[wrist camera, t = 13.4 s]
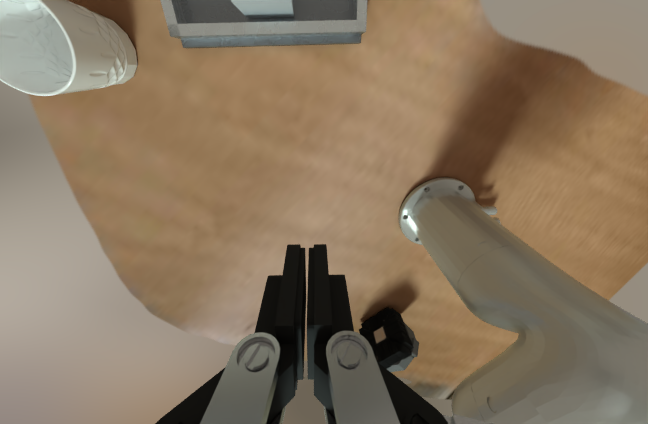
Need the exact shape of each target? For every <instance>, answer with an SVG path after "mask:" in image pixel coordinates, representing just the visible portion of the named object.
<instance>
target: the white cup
mask: <svg viewBox="0 0 648 424" xmlns="http://www.w3.org/2000/svg"><path fill="white" fill-rule="evenodd" d="M137 65H138V64H137V57H136V50H135V48H134V46H133V44H132V42H131V40H130V39H129V37H128V35H127V33H125V32H124V31H123V30H122V29H121V28H120V27H119V26H118V25H117V24H116V23H115V22H114V21H113V20H111V19H109V18H106V17H104V16H102V15H100V14H98V13H95V12H93V11H90V10H88V9H87V8H85V7H82V6H80V5H77V4H75V3H72V2H70V1H67V0H0V80H1V81H2V82H4V83H5V84H7V85H9V86H11V87H13V88H15V89H17V90H19V91H22V92H25V93H28V94H32V95H38V96H52V95H58V94H65V93H72V92H79V91H86V90H92V89H97V88H103V87H107V86H110V85H115V84H123V83H125V82H126V81H128V80H129V79H131V78H132V77H133V76H134V74H135V71H136V68H137Z"/></svg>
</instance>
